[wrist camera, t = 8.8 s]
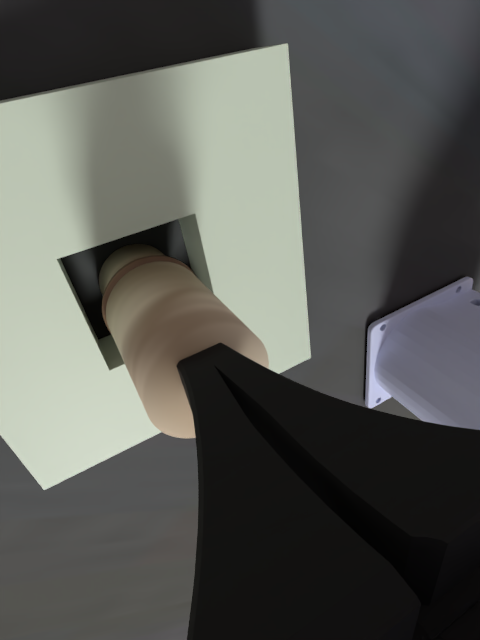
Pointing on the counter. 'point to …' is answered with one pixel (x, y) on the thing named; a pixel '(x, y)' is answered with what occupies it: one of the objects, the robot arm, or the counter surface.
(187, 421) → the beech peg
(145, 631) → the counter surface
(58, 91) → the sage board
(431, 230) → the counter surface
